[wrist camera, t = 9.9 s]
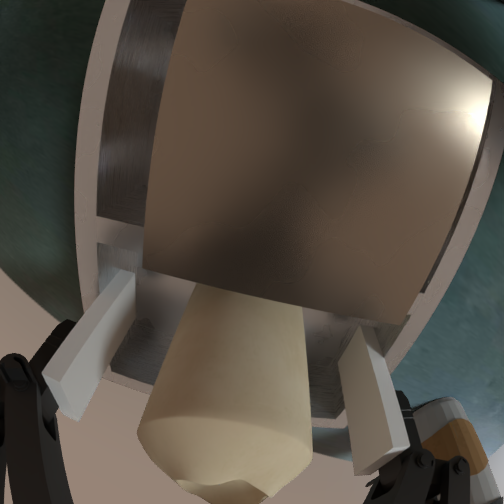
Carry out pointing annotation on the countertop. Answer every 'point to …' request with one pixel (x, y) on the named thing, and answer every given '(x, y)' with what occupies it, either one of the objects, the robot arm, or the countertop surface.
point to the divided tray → (135, 195)
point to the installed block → (309, 154)
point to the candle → (232, 399)
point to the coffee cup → (457, 445)
